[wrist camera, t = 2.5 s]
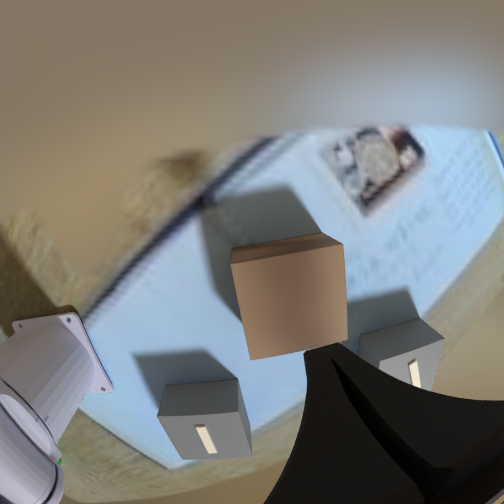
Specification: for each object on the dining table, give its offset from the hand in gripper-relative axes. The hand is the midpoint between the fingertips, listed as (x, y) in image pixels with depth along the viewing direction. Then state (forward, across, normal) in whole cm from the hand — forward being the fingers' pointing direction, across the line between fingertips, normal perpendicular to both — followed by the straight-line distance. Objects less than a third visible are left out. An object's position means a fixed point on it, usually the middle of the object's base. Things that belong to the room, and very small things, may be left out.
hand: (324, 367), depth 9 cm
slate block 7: (+10, -8, +9) cm, 15 cm away
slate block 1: (+10, +8, +10) cm, 16 cm away
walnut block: (+10, 0, 0) cm, 10 cm away
